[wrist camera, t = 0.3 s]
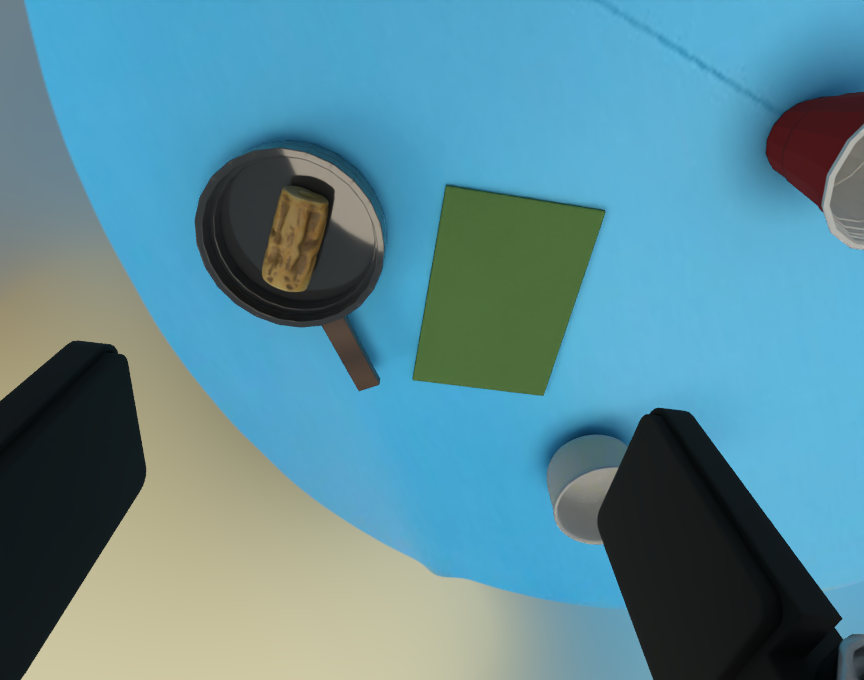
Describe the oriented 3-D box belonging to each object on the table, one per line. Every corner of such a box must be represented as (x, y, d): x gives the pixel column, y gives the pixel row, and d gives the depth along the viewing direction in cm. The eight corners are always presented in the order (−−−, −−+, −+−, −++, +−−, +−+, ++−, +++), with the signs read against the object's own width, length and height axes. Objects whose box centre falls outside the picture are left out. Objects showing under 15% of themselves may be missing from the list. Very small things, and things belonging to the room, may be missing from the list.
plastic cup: (704, 181, 43) (793, 226, 33) (790, 42, 38) (928, 43, 28) (807, 222, 45) (922, 277, 35) (901, 95, 40) (1069, 115, 30)
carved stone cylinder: (286, 178, 42) (274, 191, 38) (335, 197, 43) (327, 211, 39) (266, 265, 46) (253, 284, 42) (312, 281, 47) (302, 300, 43)
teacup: (529, 484, 61) (542, 540, 54) (553, 414, 56) (572, 467, 49) (638, 495, 62) (665, 551, 55) (673, 427, 57) (708, 481, 50)
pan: (205, 125, 40) (187, 132, 37) (396, 156, 41) (394, 166, 38) (216, 297, 48) (201, 315, 45) (377, 318, 49) (374, 337, 46)
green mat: (445, 184, 43) (446, 186, 42) (604, 210, 44) (605, 211, 44) (412, 377, 53) (412, 380, 52) (542, 393, 54) (543, 396, 54)
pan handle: (320, 315, 46) (318, 320, 45) (342, 307, 46) (341, 312, 45) (359, 385, 50) (358, 391, 49) (380, 378, 50) (379, 384, 49)
